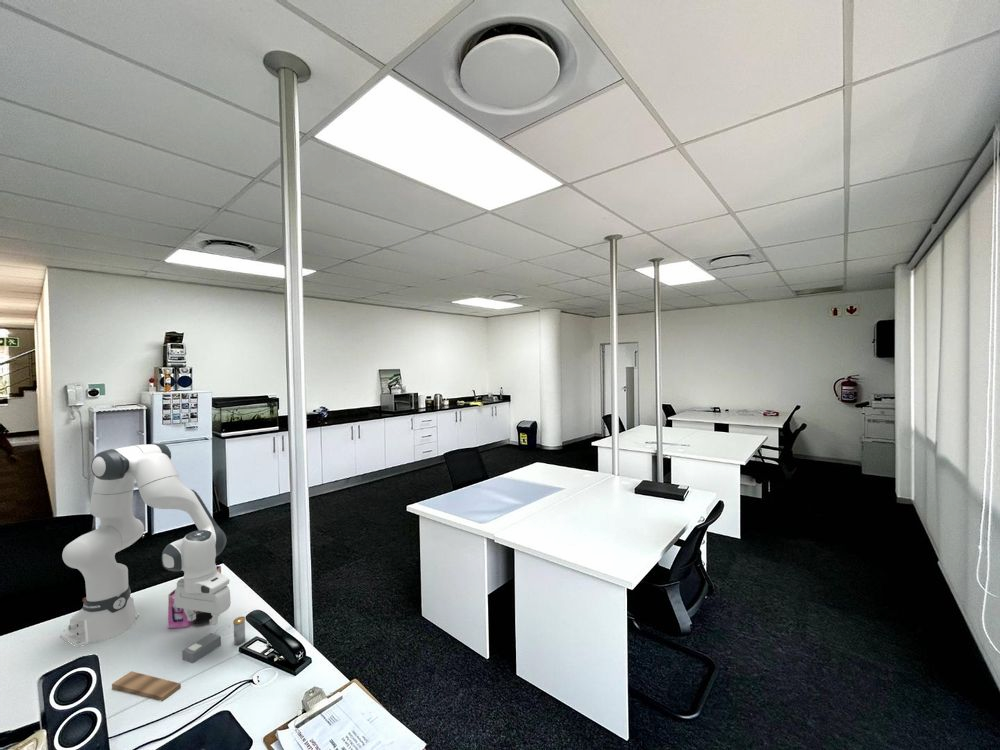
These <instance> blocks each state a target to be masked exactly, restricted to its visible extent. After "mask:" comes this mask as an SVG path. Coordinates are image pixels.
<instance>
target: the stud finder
mask: <svg viewBox="0 0 1000 750" xmlns="http://www.w3.org/2000/svg"><path fill="white" fill-rule="evenodd" d="M220 646H222V639H221V635H218V634H215V633H212V632H210V633H209V634H207V635H205V636H203V637H201V638H200V639H198V640H196V641H195V642H193V643H192V644H190V645H189V646H187V647H185V648H184V649H183V650H182V651H181V653H182V657H181V658H182V661H184V662H185V661H186V662H187V663H188V662H189V663H191V664H194V663H195V662H198V660H200V659H201V658H203V657H205V656H207V655H209V654H210V653H212V652H213V651H214V650H216V649H217V648H219V647H220Z"/></svg>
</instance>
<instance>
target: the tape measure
mask: <svg viewBox="0 0 1000 750" xmlns="http://www.w3.org/2000/svg"><path fill="white" fill-rule="evenodd" d="M195 614H196V619H195V620H193V624H194V623H195V624H201V623H203V622H207V621H209V620H210V619H212V617H213V616H212V615H211V613H208V612H201V611H197V612H195Z"/></svg>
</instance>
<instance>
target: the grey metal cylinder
mask: <svg viewBox="0 0 1000 750" xmlns="http://www.w3.org/2000/svg"><path fill="white" fill-rule="evenodd" d="M232 621H233V643H234V644H233V645H234V646H240V645H242V644H244V643H246V622H245V621H246V617H245V616H238V617H236V618H235V619H233V620H232Z"/></svg>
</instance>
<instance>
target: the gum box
mask: <svg viewBox="0 0 1000 750" xmlns="http://www.w3.org/2000/svg"><path fill="white" fill-rule="evenodd" d="M216 567H217V571H218V572H220V573H221V574H222V566H221V565H216ZM174 596H175V589H173V590H172V591H171V592H170V593H168V601H167V603H168V606H167V607H168V608H167V609H168V610H167V611H168V618H167V623H168V624H167V626H168V629H180V628H189V627H191V626H192V625H193V624H194V622H193V621H188V619H187V615H186V613H185V612H184V609H182V608H176V606H175V605H174ZM193 611H194V613H195V612H197V611H195V610H193Z"/></svg>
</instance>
